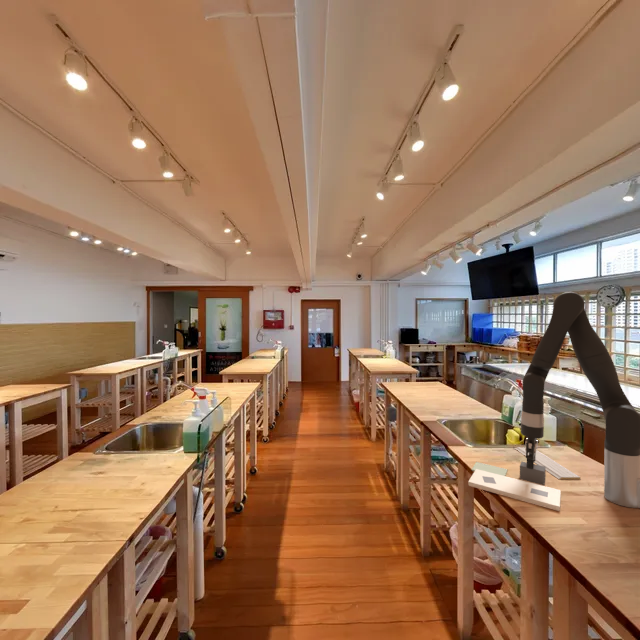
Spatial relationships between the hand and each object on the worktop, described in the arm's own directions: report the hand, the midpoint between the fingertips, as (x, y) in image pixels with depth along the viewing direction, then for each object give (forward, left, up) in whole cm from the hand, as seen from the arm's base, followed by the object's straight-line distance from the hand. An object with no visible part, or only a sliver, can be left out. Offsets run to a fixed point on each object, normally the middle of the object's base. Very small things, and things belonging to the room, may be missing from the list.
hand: (531, 464), depth 130 cm
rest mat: (+14, +1, -6) cm, 16 cm away
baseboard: (-3, -21, -7) cm, 22 cm away
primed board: (+4, +13, -6) cm, 15 cm away
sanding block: (-1, 0, -6) cm, 6 cm away
